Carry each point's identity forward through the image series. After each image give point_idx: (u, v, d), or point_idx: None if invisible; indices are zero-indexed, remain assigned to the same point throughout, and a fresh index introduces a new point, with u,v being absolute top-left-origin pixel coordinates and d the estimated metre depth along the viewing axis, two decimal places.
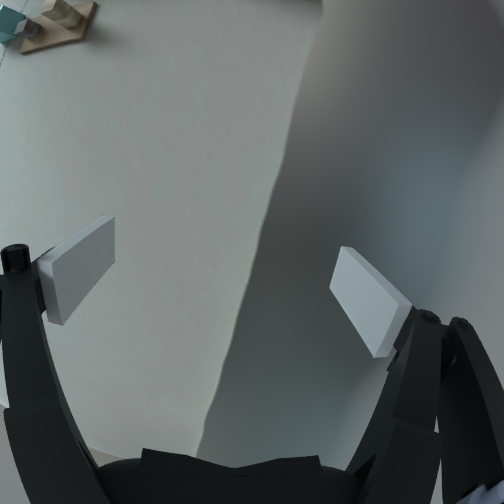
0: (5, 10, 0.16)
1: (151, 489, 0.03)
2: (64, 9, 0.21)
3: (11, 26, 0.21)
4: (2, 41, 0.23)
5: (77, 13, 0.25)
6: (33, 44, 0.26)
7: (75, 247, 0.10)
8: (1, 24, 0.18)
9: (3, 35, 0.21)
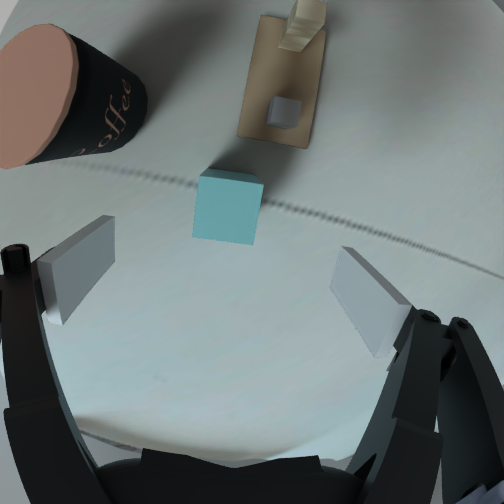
0: (210, 175, 0.25)
1: (151, 489, 0.03)
2: None
3: (240, 174, 0.29)
4: None
5: None
6: (303, 115, 0.28)
7: (75, 247, 0.10)
8: (245, 179, 0.25)
9: None
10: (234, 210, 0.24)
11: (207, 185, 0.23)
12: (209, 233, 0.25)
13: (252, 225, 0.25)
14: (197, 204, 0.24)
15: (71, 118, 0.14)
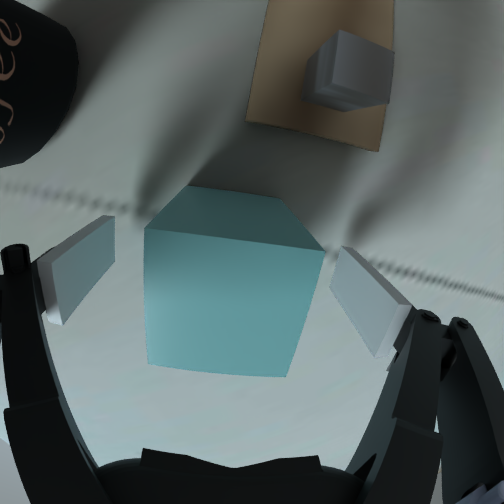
0: None
1: (151, 489, 0.03)
2: None
3: (253, 204, 0.13)
4: None
5: None
6: None
7: (75, 247, 0.10)
8: (270, 225, 0.10)
9: None
10: (244, 316, 0.09)
11: (168, 255, 0.08)
12: (185, 360, 0.10)
13: (286, 344, 0.10)
14: (148, 301, 0.09)
15: None
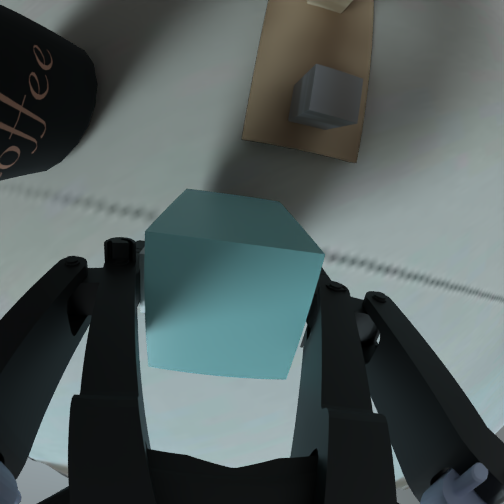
0: (180, 221, 0.10)
1: None
2: None
3: (253, 207, 0.14)
4: None
5: None
6: None
7: None
8: (270, 228, 0.10)
9: None
10: (244, 319, 0.09)
11: (169, 258, 0.08)
12: (186, 362, 0.10)
13: (286, 347, 0.10)
14: (149, 303, 0.09)
15: None
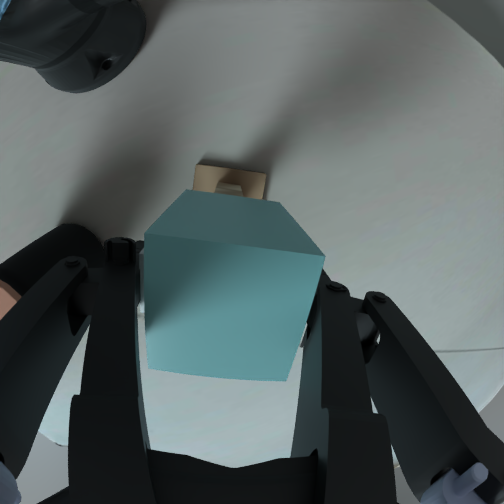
0: (180, 223, 0.09)
1: None
2: (229, 191, 0.25)
3: (253, 208, 0.13)
4: None
5: (221, 184, 0.29)
6: None
7: None
8: (270, 229, 0.10)
9: None
10: (244, 321, 0.09)
11: (168, 260, 0.08)
12: (186, 364, 0.10)
13: (286, 349, 0.10)
14: (148, 306, 0.09)
15: None
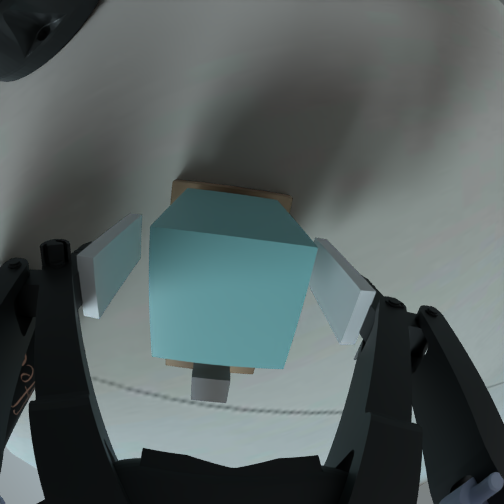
0: (182, 218, 0.10)
1: (151, 489, 0.03)
2: None
3: (252, 205, 0.14)
4: None
5: None
6: None
7: (111, 243, 0.11)
8: (267, 224, 0.11)
9: None
10: (243, 309, 0.10)
11: (172, 252, 0.09)
12: (188, 352, 0.11)
13: (283, 337, 0.11)
14: (153, 295, 0.09)
15: None
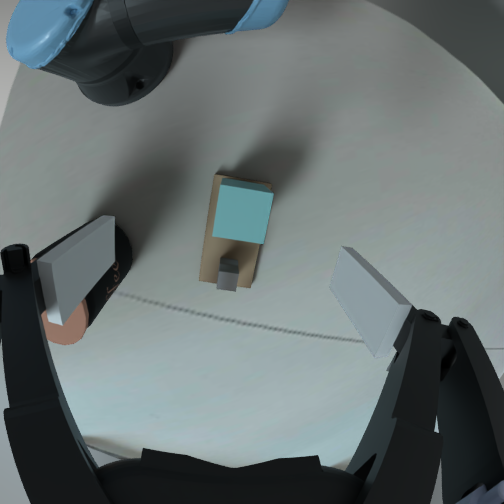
0: (228, 184, 0.29)
1: (151, 489, 0.03)
2: None
3: (252, 184, 0.34)
4: None
5: None
6: (248, 264, 0.42)
7: (75, 247, 0.10)
8: (257, 188, 0.30)
9: None
10: (248, 214, 0.29)
11: (226, 193, 0.28)
12: (227, 233, 0.30)
13: (263, 227, 0.30)
14: (217, 208, 0.29)
15: (89, 320, 0.27)
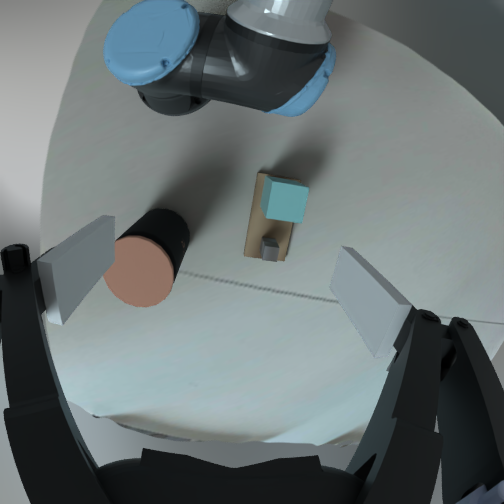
0: (276, 181, 0.41)
1: (151, 489, 0.03)
2: None
3: (289, 180, 0.45)
4: None
5: None
6: (282, 242, 0.53)
7: (75, 247, 0.10)
8: (296, 184, 0.42)
9: None
10: (292, 202, 0.41)
11: (277, 187, 0.40)
12: (276, 216, 0.41)
13: (301, 211, 0.41)
14: (270, 198, 0.40)
15: None
